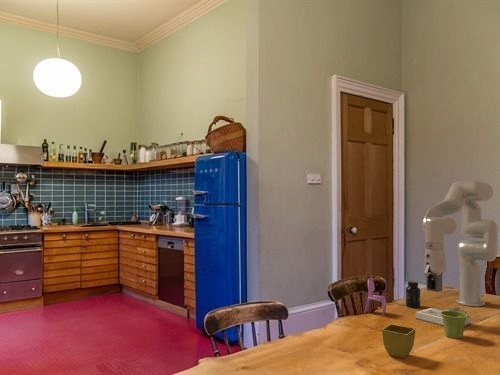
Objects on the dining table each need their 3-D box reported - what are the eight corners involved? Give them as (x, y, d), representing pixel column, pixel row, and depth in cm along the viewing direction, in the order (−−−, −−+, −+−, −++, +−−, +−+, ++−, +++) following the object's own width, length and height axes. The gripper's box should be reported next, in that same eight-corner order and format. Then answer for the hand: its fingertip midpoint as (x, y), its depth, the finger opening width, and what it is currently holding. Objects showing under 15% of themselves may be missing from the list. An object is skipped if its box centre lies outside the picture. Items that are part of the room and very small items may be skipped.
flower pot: (391, 348, 153) (391, 323, 153) (416, 354, 147) (416, 328, 147) (381, 356, 146) (381, 329, 146) (407, 362, 140) (407, 334, 140)
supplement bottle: (422, 308, 206) (422, 283, 207) (408, 308, 207) (408, 283, 207) (417, 304, 213) (417, 280, 213) (403, 304, 213) (403, 280, 214)
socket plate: (431, 314, 196) (430, 306, 196) (470, 324, 181) (470, 315, 181) (415, 318, 189) (415, 310, 189) (455, 329, 174) (455, 320, 174)
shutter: (451, 313, 186) (450, 305, 186) (467, 317, 180) (467, 308, 180) (442, 316, 182) (442, 308, 182) (458, 320, 176) (458, 311, 176)
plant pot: (470, 341, 160) (470, 317, 160) (443, 339, 162) (443, 316, 162) (463, 333, 169) (463, 311, 170) (438, 331, 171) (437, 310, 171)
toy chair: (382, 316, 193) (382, 282, 193) (363, 313, 198) (363, 280, 198) (387, 312, 200) (387, 279, 200) (368, 309, 205) (368, 277, 205)
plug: (431, 288, 191) (431, 270, 191) (442, 290, 187) (442, 272, 187) (426, 289, 189) (426, 271, 189) (437, 292, 185) (437, 273, 185)
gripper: (431, 248, 180) (431, 292, 180) (452, 246, 190) (452, 287, 190) (415, 246, 186) (415, 289, 186) (436, 244, 196) (436, 285, 196)
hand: (434, 288), depth 188 cm, fingers closed on plug, 4 cm apart
